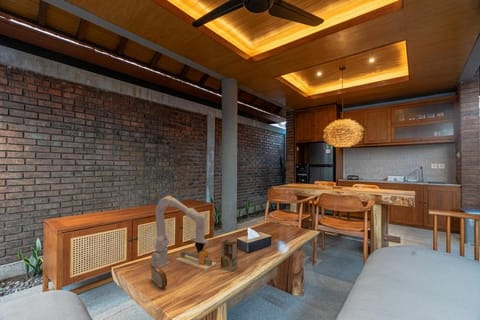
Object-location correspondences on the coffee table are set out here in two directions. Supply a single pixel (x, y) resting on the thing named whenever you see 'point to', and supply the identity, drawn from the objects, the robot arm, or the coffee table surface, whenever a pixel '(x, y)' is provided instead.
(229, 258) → the coffee box
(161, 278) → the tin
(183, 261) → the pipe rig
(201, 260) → the orange block with hole
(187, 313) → the coffee table surface
